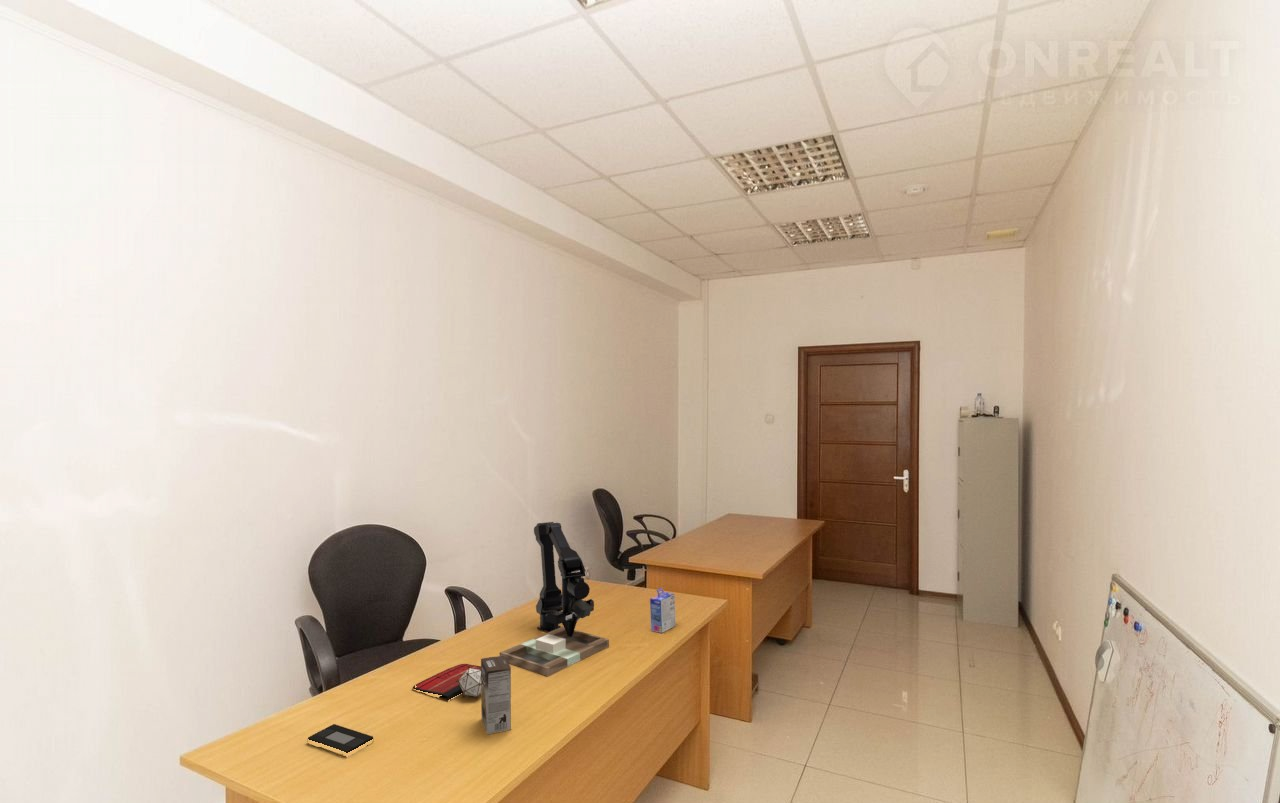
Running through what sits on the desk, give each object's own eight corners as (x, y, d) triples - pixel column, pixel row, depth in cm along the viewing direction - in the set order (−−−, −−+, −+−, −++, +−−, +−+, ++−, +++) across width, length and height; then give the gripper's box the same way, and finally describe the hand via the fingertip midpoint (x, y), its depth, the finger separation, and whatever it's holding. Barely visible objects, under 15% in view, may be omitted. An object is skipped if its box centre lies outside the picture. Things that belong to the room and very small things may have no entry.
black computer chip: (347, 760, 148) (347, 751, 148) (307, 745, 154) (307, 737, 154) (373, 744, 155) (373, 736, 155) (333, 731, 161) (333, 723, 161)
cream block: (535, 648, 209) (535, 639, 209) (548, 643, 214) (548, 634, 214) (553, 653, 204) (553, 644, 204) (565, 648, 209) (565, 639, 209)
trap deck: (499, 660, 206) (499, 652, 206) (562, 633, 230) (562, 626, 230) (547, 676, 193) (547, 668, 193) (609, 646, 217) (609, 639, 217)
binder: (499, 668, 195) (448, 695, 176) (499, 675, 194) (448, 703, 176) (461, 660, 202) (409, 686, 184) (462, 668, 202) (409, 694, 184)
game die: (479, 707, 181) (501, 677, 182) (463, 709, 173) (485, 678, 175) (460, 686, 185) (481, 657, 186) (444, 686, 177) (466, 657, 179)
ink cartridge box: (664, 623, 240) (663, 585, 241) (676, 626, 237) (676, 587, 237) (649, 630, 232) (649, 591, 232) (662, 633, 229) (661, 594, 229)
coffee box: (480, 719, 166) (480, 658, 166) (504, 714, 169) (504, 654, 169) (486, 735, 158) (486, 671, 158) (511, 730, 160) (511, 666, 161)
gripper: (568, 602, 205) (568, 650, 205) (605, 589, 220) (605, 633, 220) (544, 596, 212) (544, 642, 212) (581, 584, 227) (581, 627, 227)
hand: (570, 636), depth 217 cm, fingers closed
